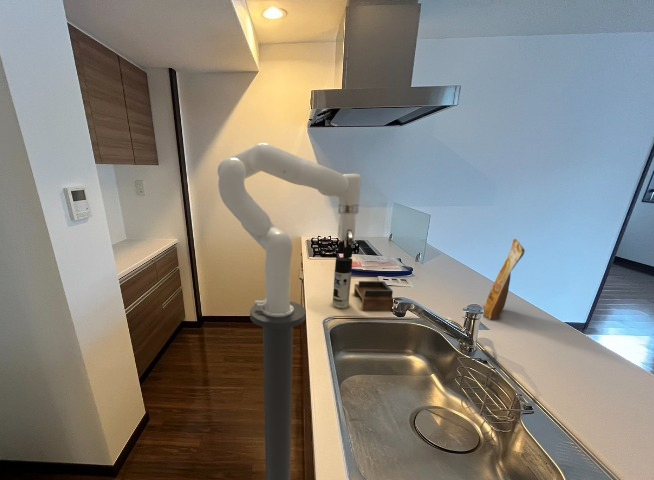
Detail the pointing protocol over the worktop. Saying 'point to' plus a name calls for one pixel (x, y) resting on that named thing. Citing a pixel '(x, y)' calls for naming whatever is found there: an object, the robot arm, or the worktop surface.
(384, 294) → the dark wooden tray box
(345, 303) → the spray can
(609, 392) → the worktop surface
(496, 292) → the pancake mix bag
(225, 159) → the robot arm
